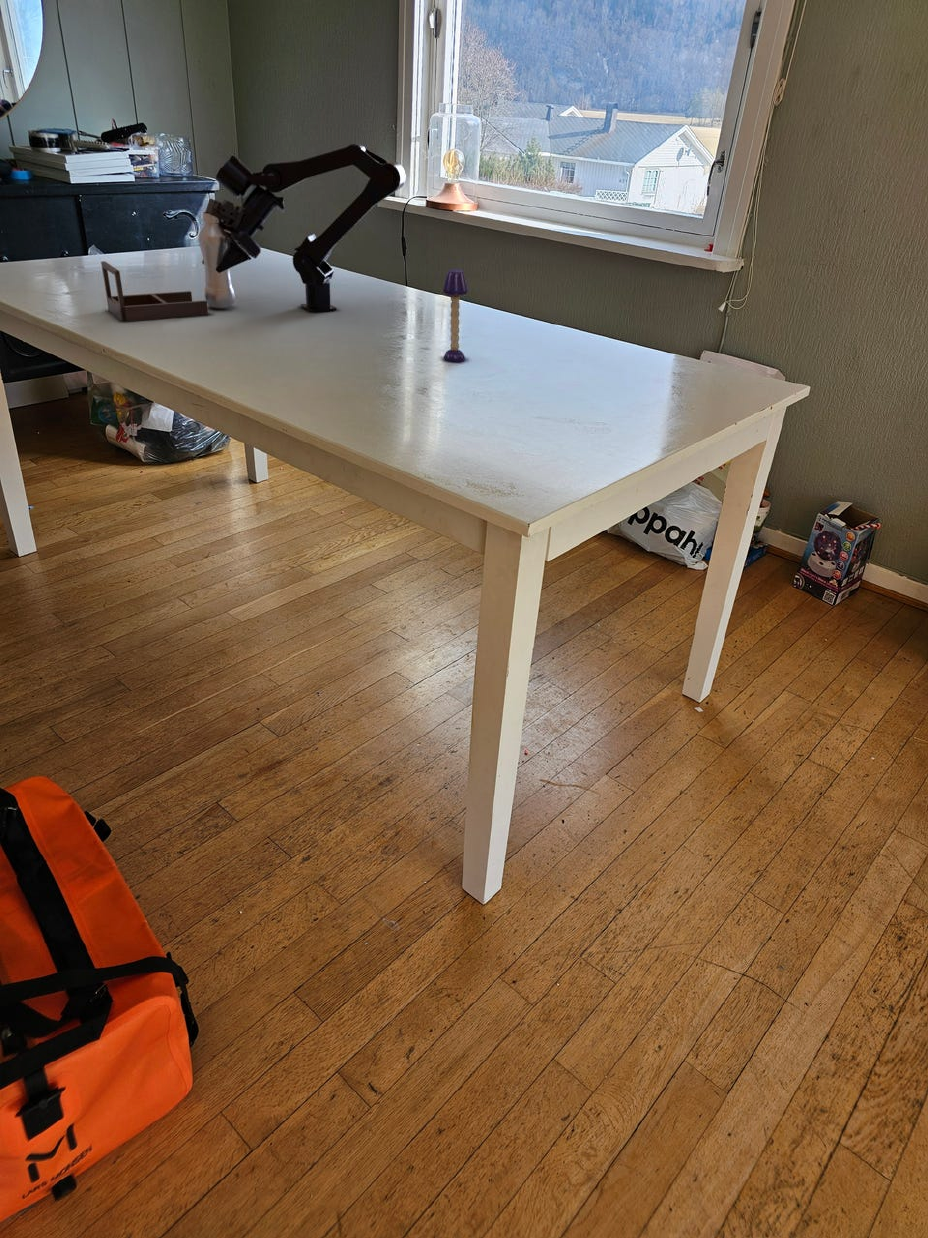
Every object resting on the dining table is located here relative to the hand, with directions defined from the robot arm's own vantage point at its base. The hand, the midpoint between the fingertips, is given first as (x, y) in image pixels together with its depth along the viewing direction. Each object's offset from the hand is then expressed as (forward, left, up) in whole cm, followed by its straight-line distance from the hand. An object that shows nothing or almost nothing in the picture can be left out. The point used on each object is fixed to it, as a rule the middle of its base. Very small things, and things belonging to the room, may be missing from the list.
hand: (210, 267), depth 191 cm
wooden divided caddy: (0, +13, -9) cm, 15 cm away
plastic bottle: (0, -2, -9) cm, 9 cm away
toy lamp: (-57, -28, -9) cm, 64 cm away
